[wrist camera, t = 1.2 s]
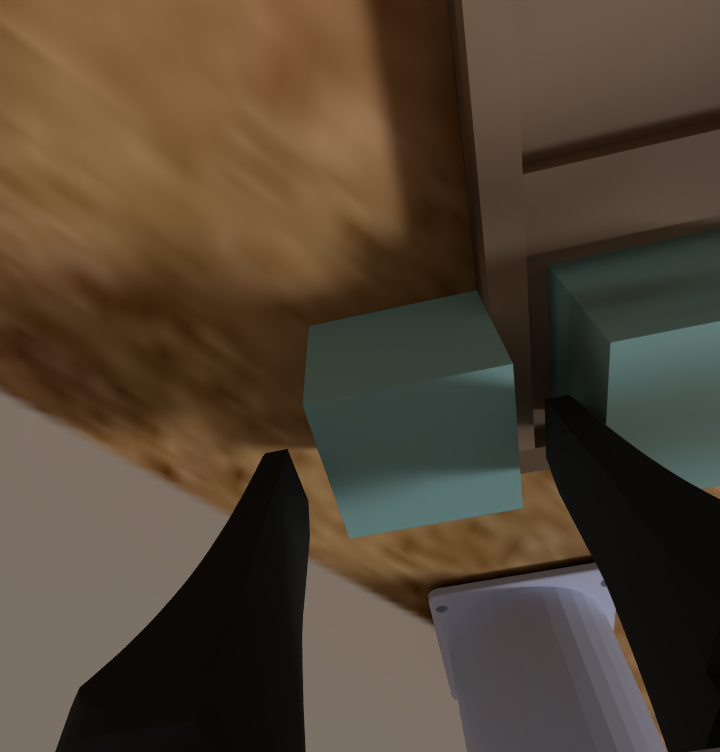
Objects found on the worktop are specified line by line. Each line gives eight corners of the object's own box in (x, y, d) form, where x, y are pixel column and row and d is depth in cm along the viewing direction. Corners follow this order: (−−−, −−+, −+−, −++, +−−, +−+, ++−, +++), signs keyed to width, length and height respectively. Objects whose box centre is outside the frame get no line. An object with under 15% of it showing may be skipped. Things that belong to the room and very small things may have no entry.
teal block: (489, 418, 19) (522, 507, 15) (346, 445, 19) (349, 538, 16) (475, 288, 16) (512, 363, 12) (308, 323, 16) (302, 405, 13)
